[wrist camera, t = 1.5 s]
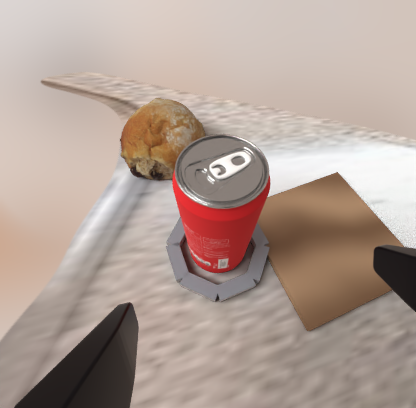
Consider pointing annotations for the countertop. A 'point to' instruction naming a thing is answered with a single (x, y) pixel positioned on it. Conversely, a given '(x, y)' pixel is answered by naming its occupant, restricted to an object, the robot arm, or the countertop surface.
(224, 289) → the ring
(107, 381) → the robot arm
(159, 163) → the bread roll
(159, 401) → the countertop surface
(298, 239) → the coaster
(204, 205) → the beverage can
